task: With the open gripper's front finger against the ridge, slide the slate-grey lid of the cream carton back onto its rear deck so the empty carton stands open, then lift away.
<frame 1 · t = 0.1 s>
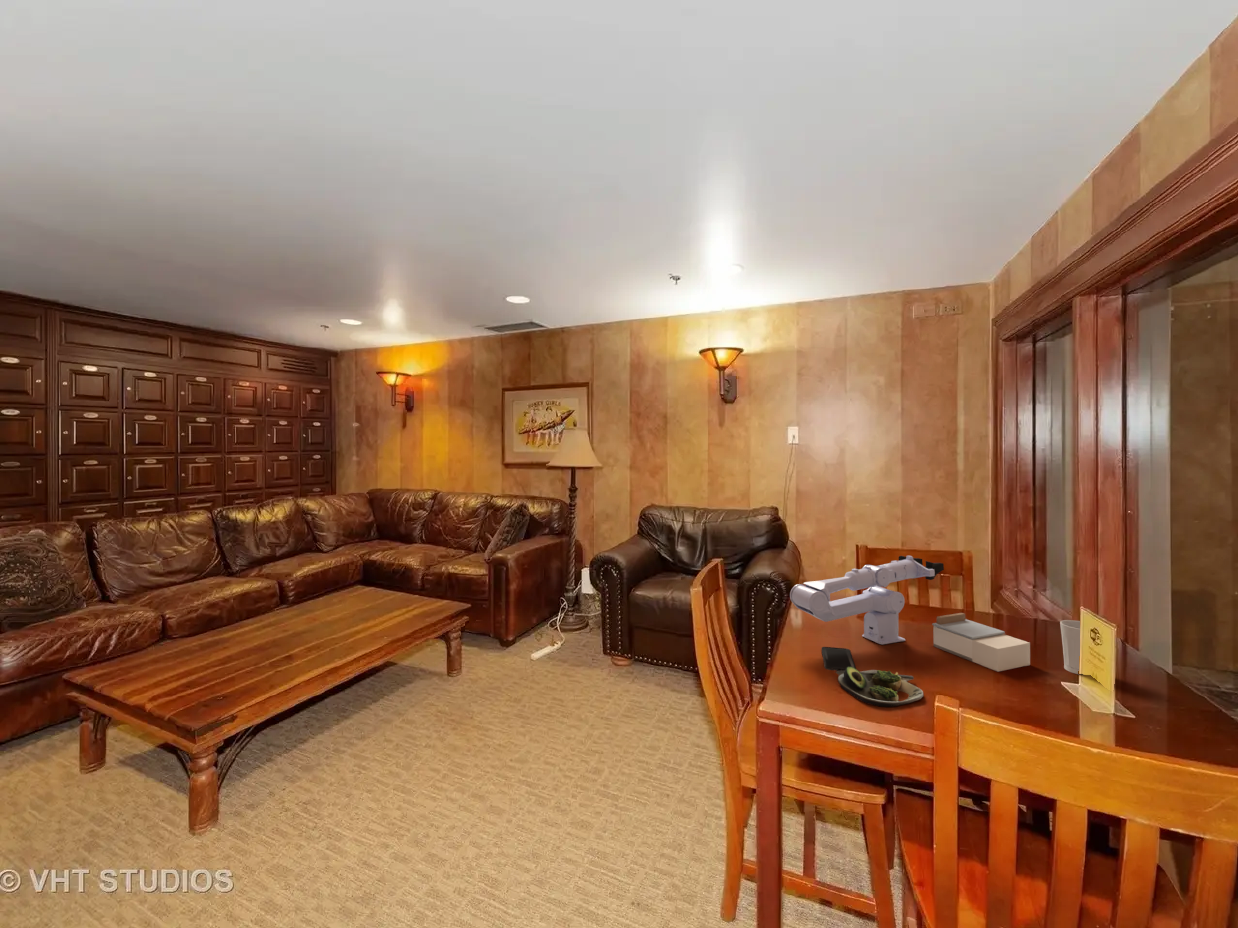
hand: (931, 564, 166), 22 cm above the table, tool horizontal, fingers open, 7 cm apart
carton: (967, 650, 150), on the table
salad plate: (876, 692, 127), on the table
phone: (837, 661, 146), on the table
lid: (967, 624, 150), point 8 cm above the table, slide at 0.0 cm
cup: (1080, 671, 136), on the table
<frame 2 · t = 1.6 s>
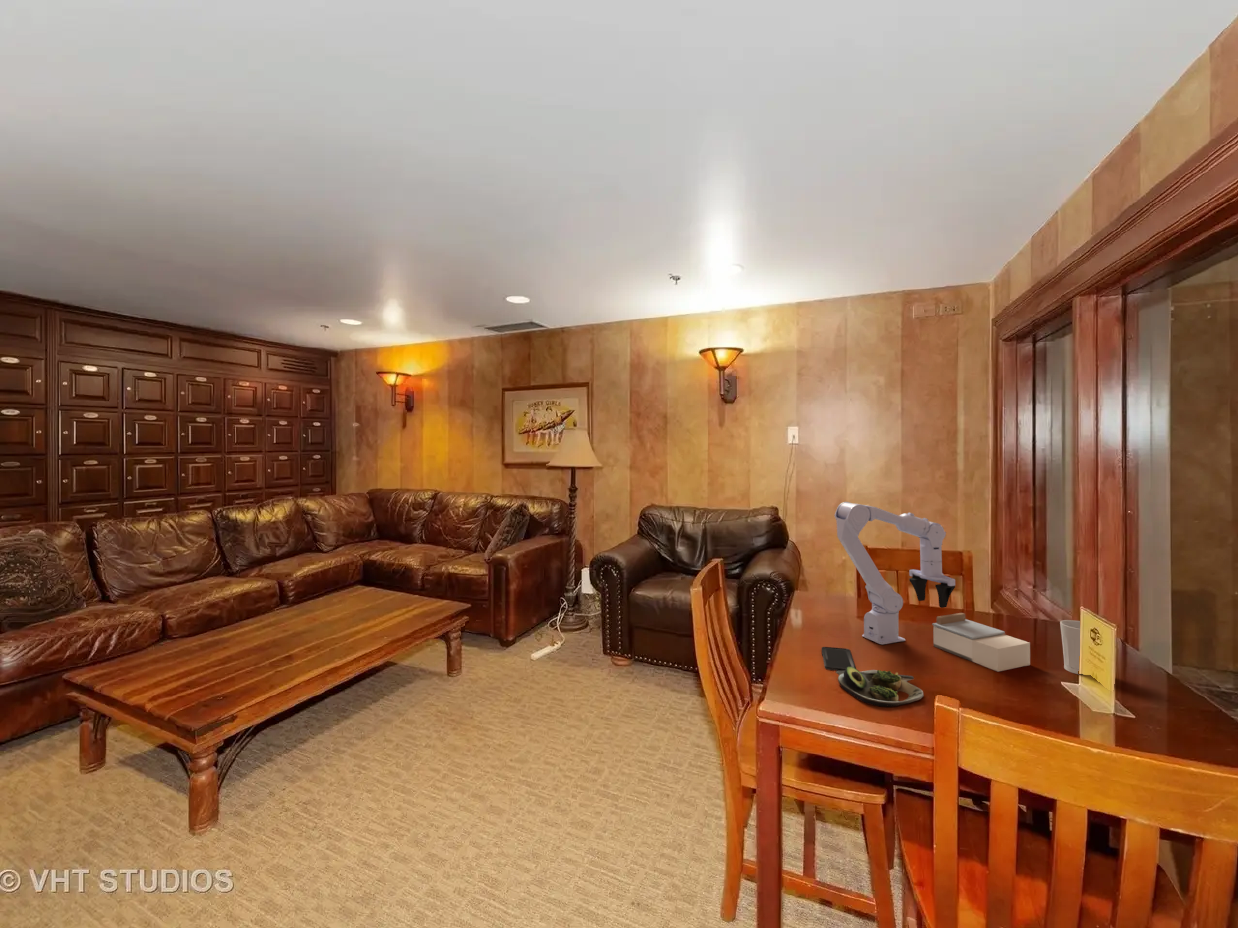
hand: (932, 603, 161), 10 cm above the table, tool pointing down, fingers open, 7 cm apart
nothing on the table moved.
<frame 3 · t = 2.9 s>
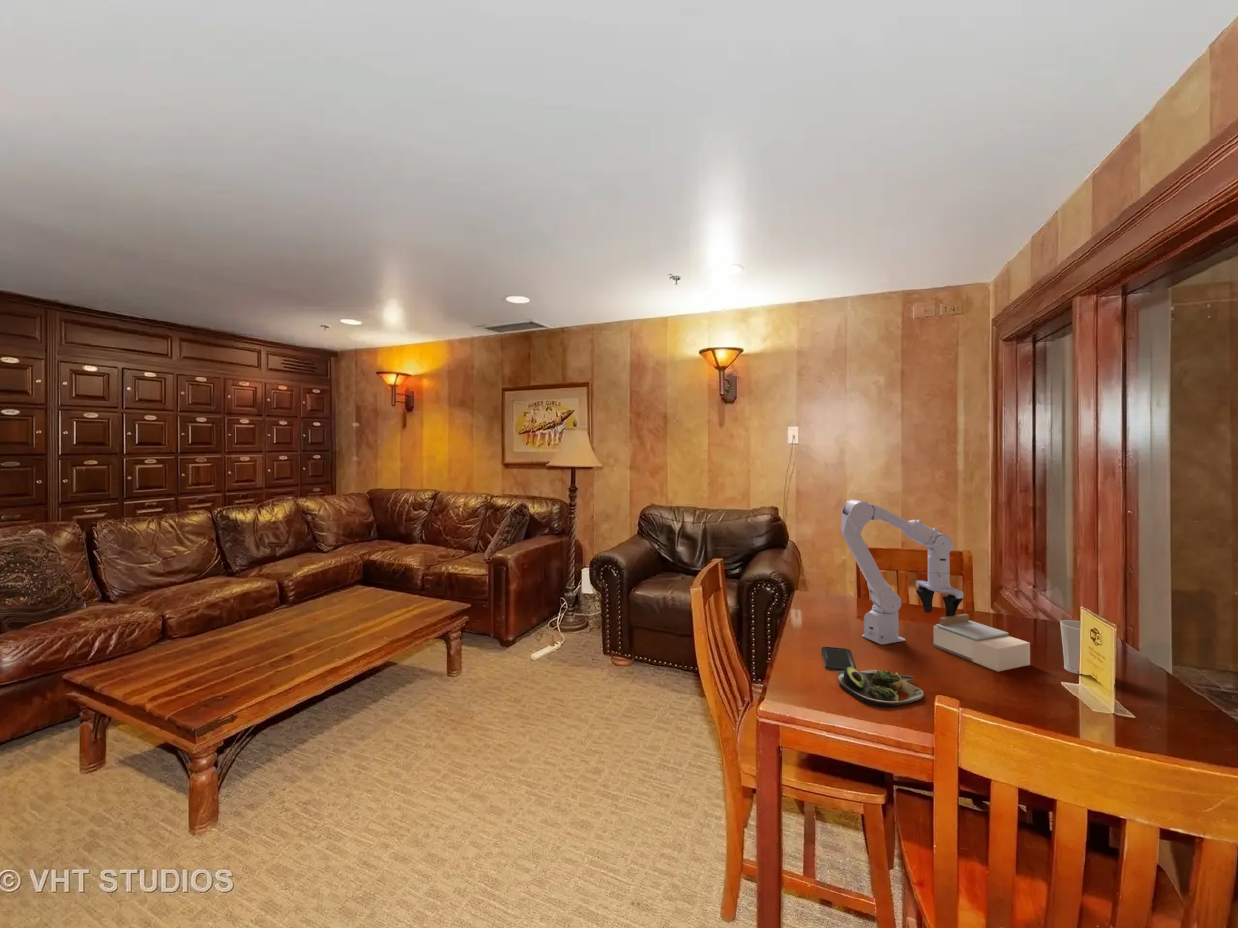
hand: (938, 615, 159), 7 cm above the table, tool pointing down, fingers open, 7 cm apart
lid: (970, 625, 149), point 8 cm above the table, slide at 1.0 cm, touching gripper
everything else where it was.
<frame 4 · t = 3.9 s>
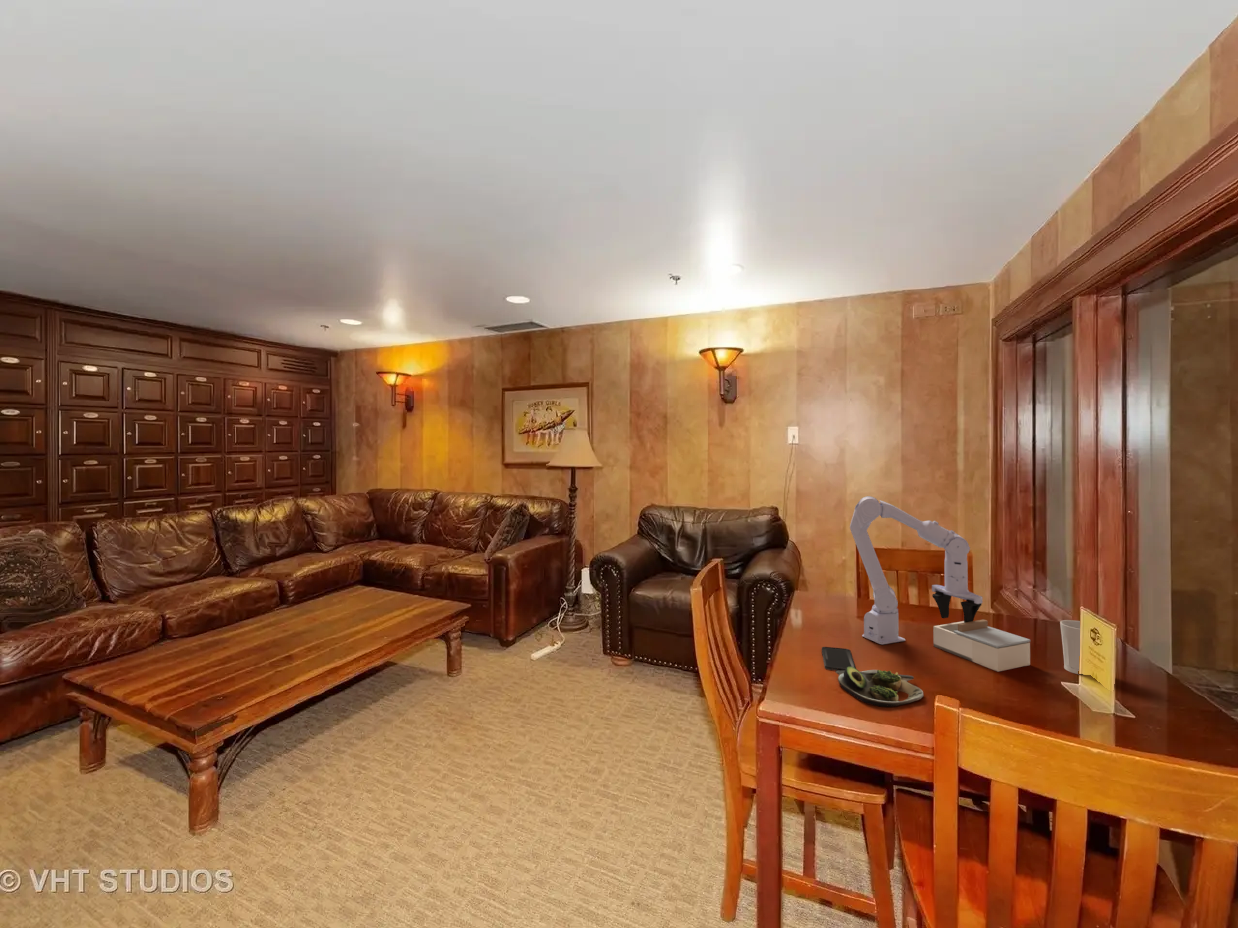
hand: (956, 621, 153), 7 cm above the table, tool pointing down, fingers open, 7 cm apart
lid: (990, 632, 144), point 8 cm above the table, slide at 6.8 cm, touching gripper
everything else where it was.
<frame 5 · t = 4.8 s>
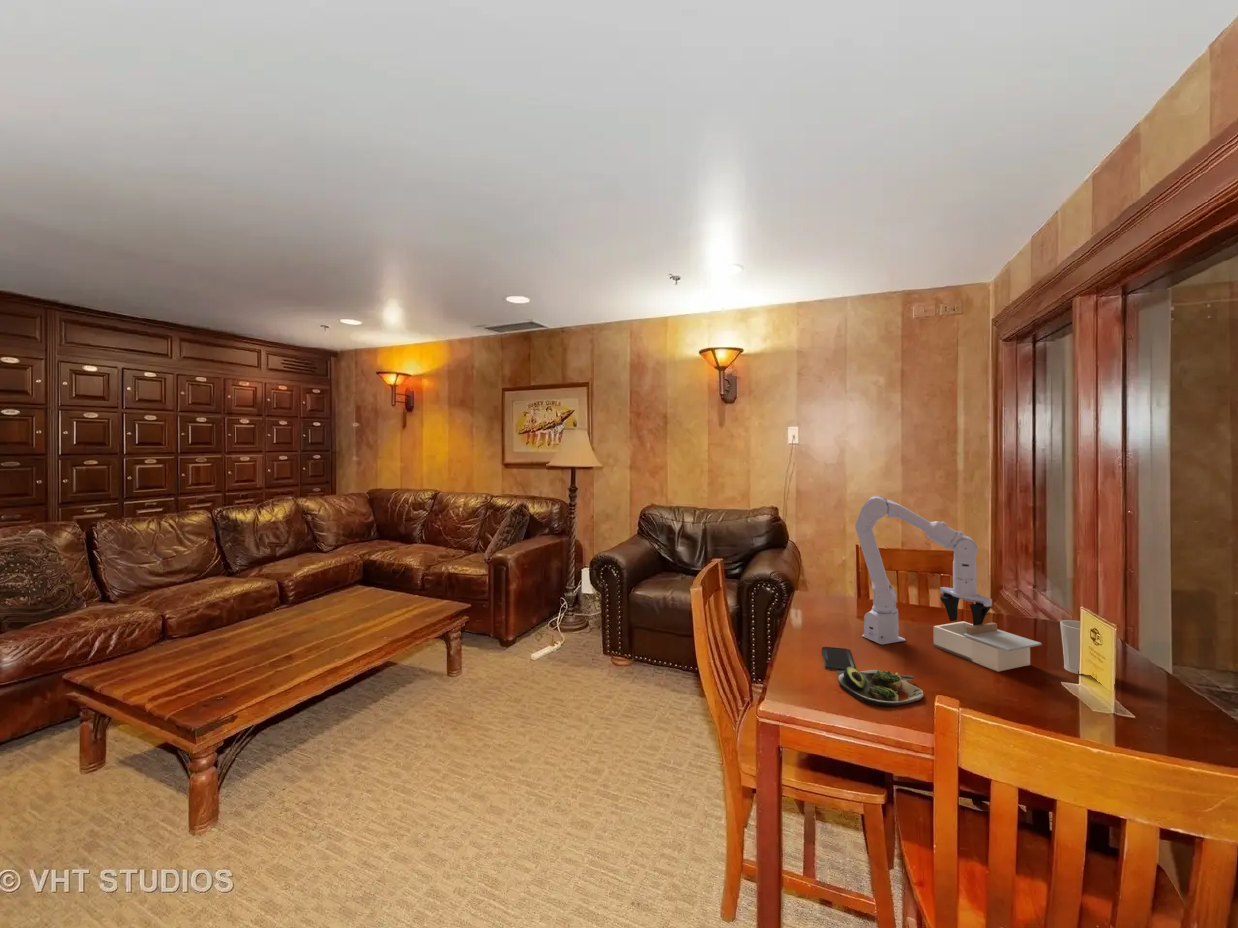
hand: (964, 624, 151), 7 cm above the table, tool pointing down, fingers open, 7 cm apart
lid: (1000, 635, 141), point 8 cm above the table, slide at 9.5 cm, touching gripper
everything else where it was.
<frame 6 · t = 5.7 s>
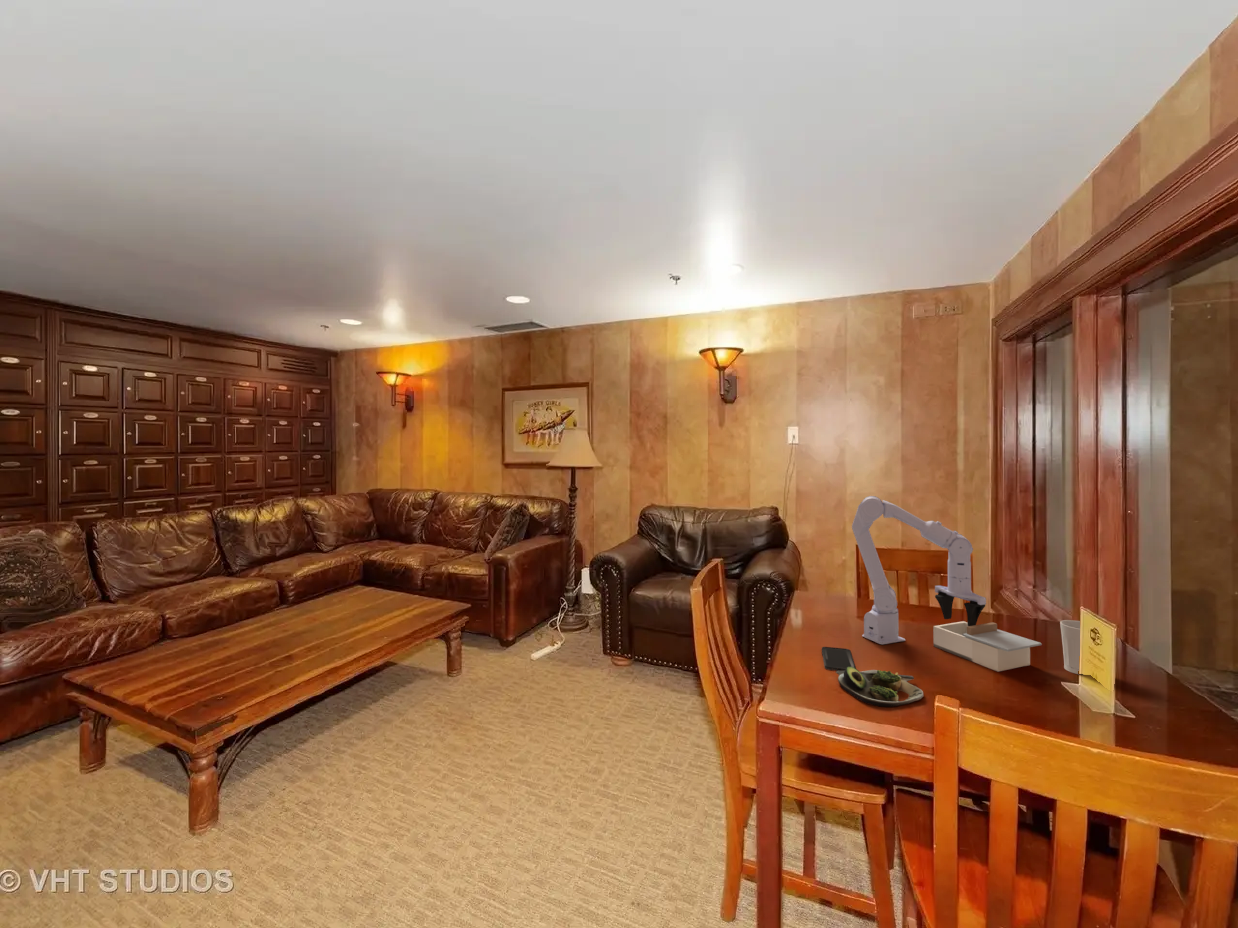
hand: (959, 622, 152), 7 cm above the table, tool pointing down, fingers open, 7 cm apart
lid: (1000, 635, 141), point 8 cm above the table, slide at 9.5 cm
everything else where it was.
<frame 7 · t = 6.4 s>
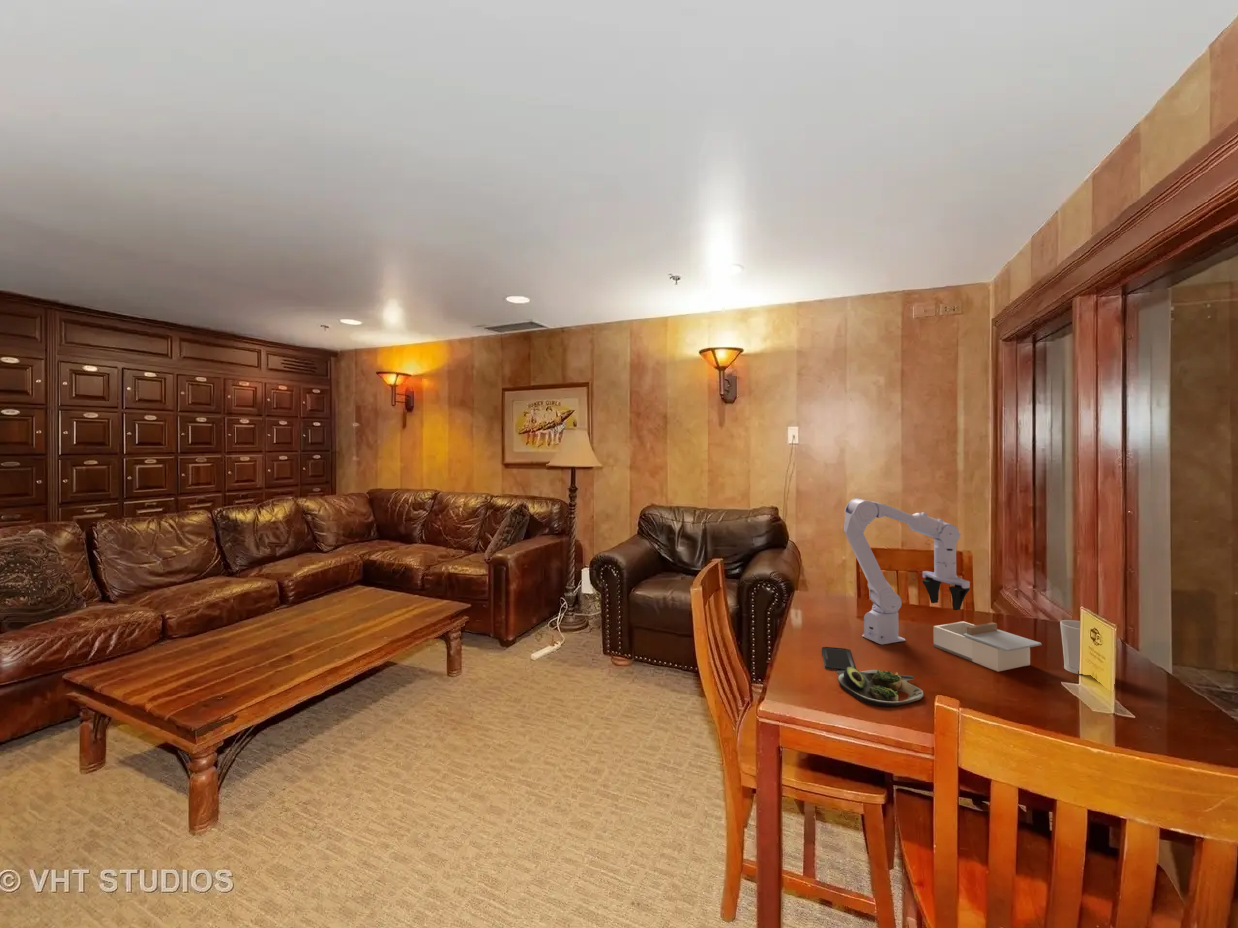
hand: (945, 606, 159), 10 cm above the table, tool pointing down, fingers open, 7 cm apart
nothing on the table moved.
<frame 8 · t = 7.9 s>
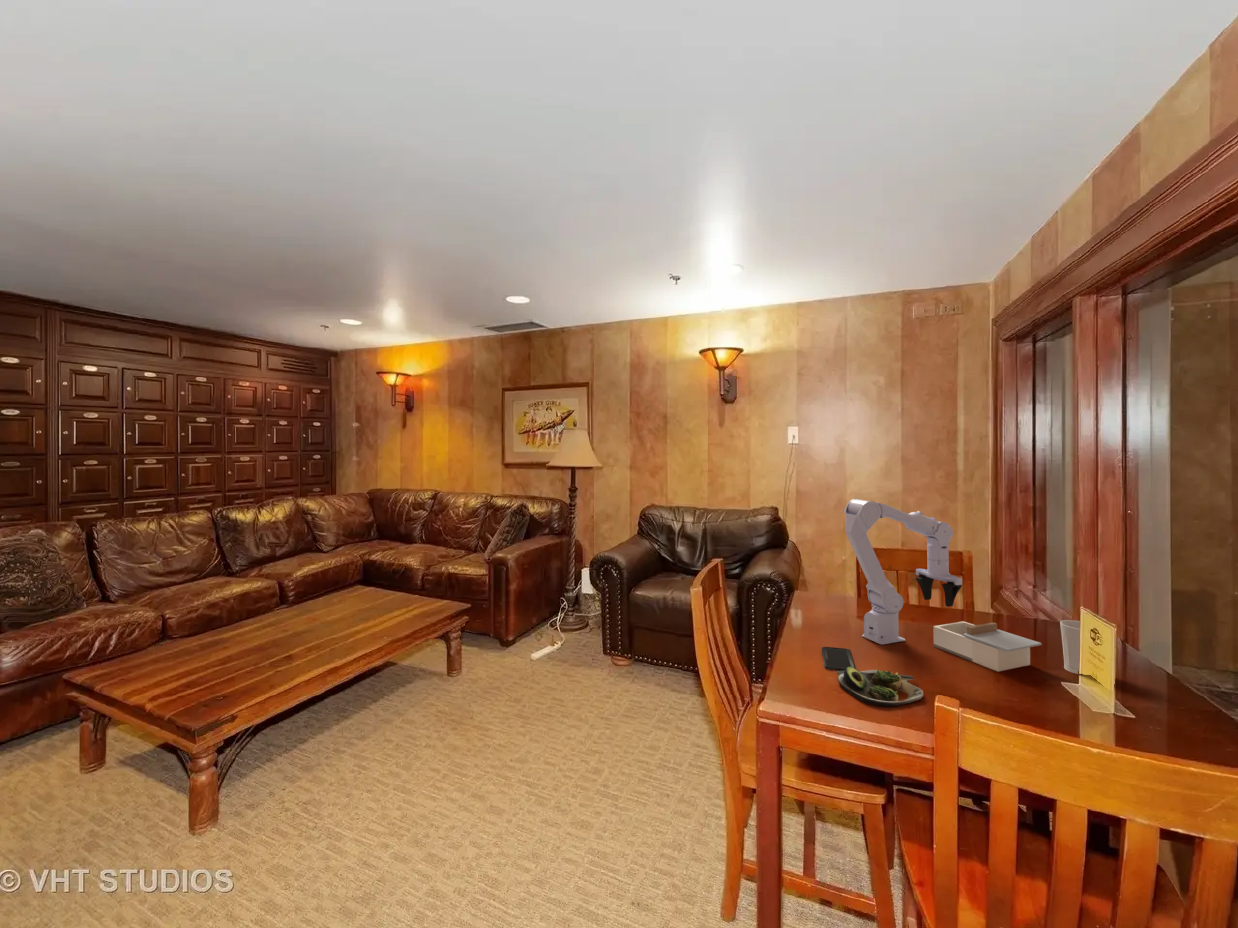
hand: (938, 602, 162), 10 cm above the table, tool pointing down, fingers open, 7 cm apart
nothing on the table moved.
at the end: lid slide at 9.5 cm; the gripper is holding nothing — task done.
